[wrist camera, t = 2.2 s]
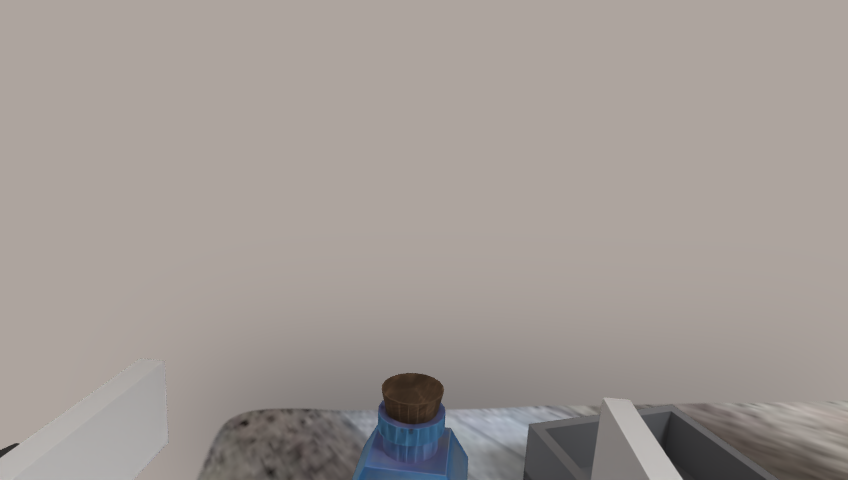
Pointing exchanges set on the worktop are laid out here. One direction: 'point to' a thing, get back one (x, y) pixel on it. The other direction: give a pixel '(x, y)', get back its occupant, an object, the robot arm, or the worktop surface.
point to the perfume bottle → (412, 435)
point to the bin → (674, 431)
